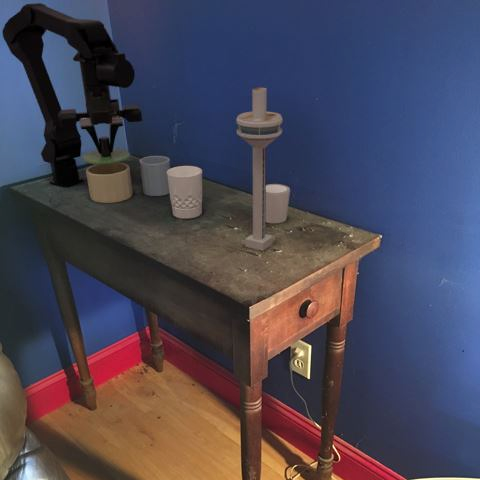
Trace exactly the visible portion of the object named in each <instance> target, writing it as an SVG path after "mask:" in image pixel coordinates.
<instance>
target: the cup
mask: <svg viewBox="0 0 480 480" xmlns="http://www.w3.org/2000/svg"><path fill="white" fill-rule="evenodd" d="M138 161H139V170H140V171H139V172H140V178H141V189H142V193H143V194H144V195H146V196H149V197H162V196H166V195H170V193H169V186H168V179H167V171H168V170H169V169H171V168H172V167H171V159H170V157H167V156H164V155H149V156H145V157H142V158H140V159H139V160H138Z"/></svg>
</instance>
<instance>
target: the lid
mask: <svg viewBox="0 0 480 480" xmlns="http://www.w3.org/2000/svg"><path fill="white" fill-rule="evenodd" d="M98 141H99V145H100V150H101V154H99V152H98V150H97V149H96V150H92V151H89V152H87V153H85V154H83V155H82V157H81V160H82V162H83V163H86V164H90V165H95V164H97V165H108V164H115V163H123V162H124V161H126V160H129V159H130V158H131V152H129V151H127V150H125V149H119V148H113V152H112V153H111V150H110V136H99V137H98Z"/></svg>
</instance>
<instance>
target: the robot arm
mask: <svg viewBox="0 0 480 480" xmlns="http://www.w3.org/2000/svg"><path fill="white" fill-rule="evenodd" d="M47 31H48V32H51V33H53V34H55V35H58V36H60V37H62V38H64V39H65V40H66V42H67V44H68V45H69V46H70V47H72V48H73V49H74V50H75V51H77V52H76V54H75V55H74V56H73V58H72V60H73V61H74V62H77V63H78V62H79V67H80V74H81V80H82V87H83V93H84V100H85V109H86V111H85V112H77V109H76V108H69V109H68V108H67V109H62V107H61V104H60V101H59V99H58V96H57V93H56V91H55V88H54V86H53V83H52V80H51V77H50V75H49V73H48V69H47V67H46V65H45V62H44V59H43V53H44V47H45V44H44V40H43V39H44V38H43V37H44V35H45V33H46V32H47ZM1 34H2V37H3V40H4V42H5V43H6V45H7V48H8V49H9V51H10V53H11V54H12V55H13V57H15V58H16V59H17V60H18V61H19V62H20V63H21V64H22V66H23V69H24V71H25V74H26V76H27V79H28V82H29V84H30V87H31V89H32V92H33V94H34V97H35V99H36V103H37V104H38V107H39V110H40V112H41V115H42V118H43V120H44V123H45V124H44V129H43V137H44V141H45V144H44V146H43V148H42V150H41V152H40V155H41V158H42V161H43V162H44V163H48V164H50V169H51V173H52V178H53V179H52V180H49V184H50V185H51V184H52V185H55V186H61V187H63V188H65V187H66V188H67V187H70V186H73V185H74V184H77V183H79V182H82V181H84V178H83V177H80V175H79V169H78V165H77V162H76V158H80V157H81V155H82V145H83V144H82V136H81V134H80V132H79V130H78V126H77V123H78V122H79V124H80V129H81V130H85V131H86V132H87V133H88V135H89V136H90V137H91V140H92V142H93V143H94V146H95V147H96V151H97V150H98V152H99V154H101V150H100V145H99V137H98V134H97V131H96V127H95V126H97V125H101V124H105V125H108V128H109V130H108V131H109V143H110V150H111V153H112V152H113V149H114V147H115V141H116V136H117V133H118V130H119V128H120V127H123V126H124V123H123V120H124V119H125V121H127V122H128V123H139V122H143V115H142V114H143V113H142V109H141V108H140V107H141V106H138V104H127V105H122V109H120V103H119V98H113V99H112V98H111V97H112V96H111V91H110V87H115V88H122V89H127V88H129V87H130V86H131V85H132V84H133V83H134V81H135V69H134V67H133V64H132V63H131V62H130V61H129V60H128V59H126V53H125V52H119V50H118V49H117V46H116V44H115V43H114V41H113V39H112V38H111V36H110V34H109V32H108V31H107V29H106V28H105V24H104V23H103V22H102V21H100V20H96V19H88V18H87V19H85V18H75V17H72V16H70V15H68V14H66V13H64V12H61V11H59V10H56V9H53V8H51V7H48V6H47V5H46V4H44V3H41V2H37V3H36V2H35V3H26V4H24V5H23V6H22V7H21V8H20V10H19V11H18V12H17V13H15V14H14V15H13V16H11V17H10V18H9V19H8V20H7V21H6V23H5V24H4V26H3V28H2V33H1Z"/></svg>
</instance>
